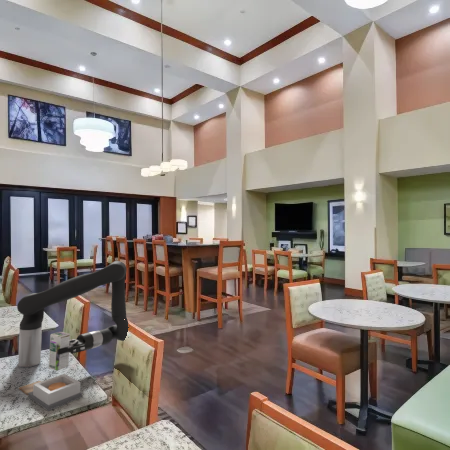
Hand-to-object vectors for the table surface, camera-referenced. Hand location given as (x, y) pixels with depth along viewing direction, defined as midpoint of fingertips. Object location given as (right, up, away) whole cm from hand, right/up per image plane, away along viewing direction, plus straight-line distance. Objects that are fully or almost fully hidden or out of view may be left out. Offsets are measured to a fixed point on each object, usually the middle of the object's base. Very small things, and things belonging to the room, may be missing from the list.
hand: (53, 350), depth 140 cm
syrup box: (+1, -8, +2) cm, 9 cm away
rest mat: (-5, -13, -6) cm, 15 cm away
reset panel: (+7, -13, -13) cm, 20 cm away
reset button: (+8, -11, -13) cm, 19 cm away
